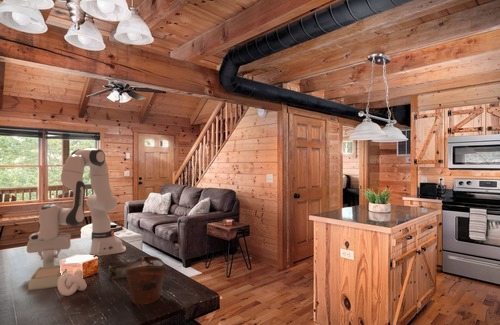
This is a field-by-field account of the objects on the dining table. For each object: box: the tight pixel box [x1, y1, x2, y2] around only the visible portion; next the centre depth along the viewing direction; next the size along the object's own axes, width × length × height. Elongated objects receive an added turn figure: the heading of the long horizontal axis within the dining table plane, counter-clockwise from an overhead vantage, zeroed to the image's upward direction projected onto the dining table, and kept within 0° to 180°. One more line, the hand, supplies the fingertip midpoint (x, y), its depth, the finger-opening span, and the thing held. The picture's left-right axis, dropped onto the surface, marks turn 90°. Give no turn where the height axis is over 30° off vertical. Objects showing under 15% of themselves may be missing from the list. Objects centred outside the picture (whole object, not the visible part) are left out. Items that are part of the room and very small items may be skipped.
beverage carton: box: [108, 260, 135, 280], centre depth 163 cm, size 8×19×7 cm, turn 117°
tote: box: [27, 264, 67, 291], centre depth 152 cm, size 14×18×5 cm
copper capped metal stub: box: [42, 249, 57, 267], centre depth 164 cm, size 5×5×9 cm
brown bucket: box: [124, 255, 168, 306], centre depth 136 cm, size 18×20×18 cm
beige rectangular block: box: [36, 268, 60, 279], centre depth 148 cm, size 9×6×7 cm, turn 112°
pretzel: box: [57, 269, 88, 297], centre depth 141 cm, size 11×12×9 cm
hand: (49, 258), depth 164 cm, fingers closed on copper capped metal stub, 5 cm apart
